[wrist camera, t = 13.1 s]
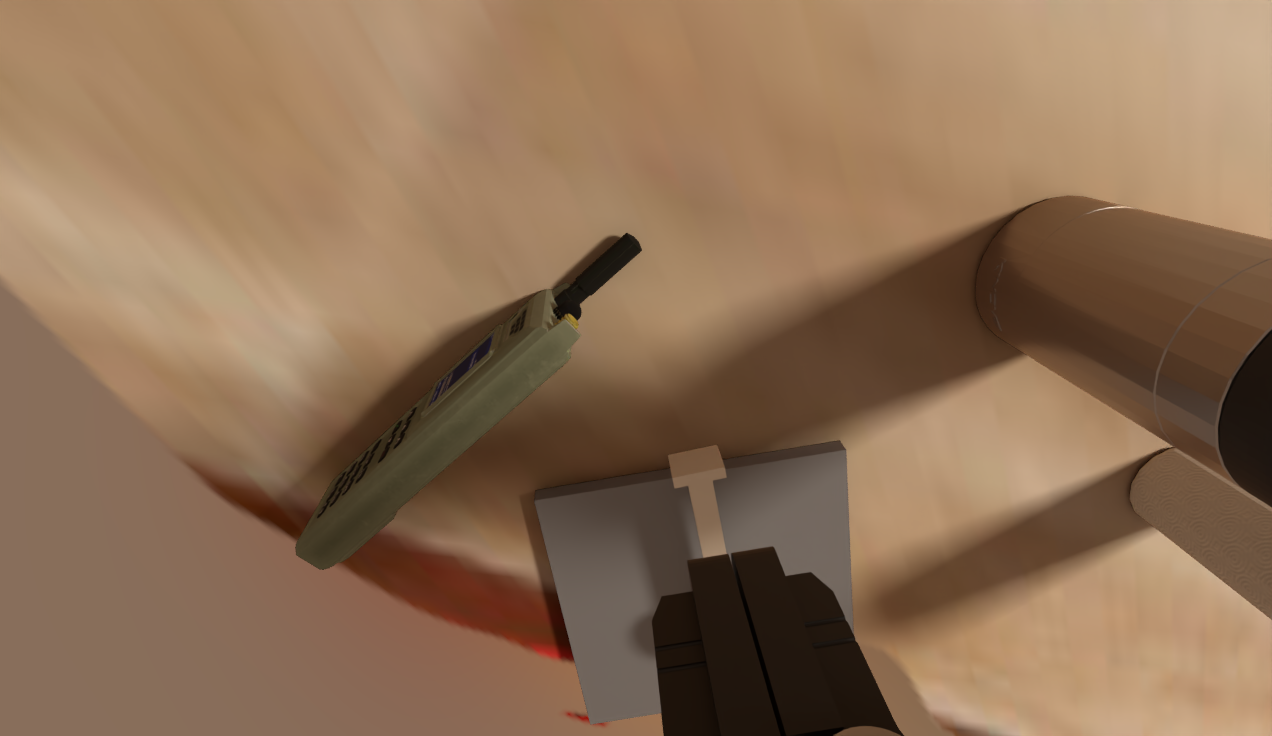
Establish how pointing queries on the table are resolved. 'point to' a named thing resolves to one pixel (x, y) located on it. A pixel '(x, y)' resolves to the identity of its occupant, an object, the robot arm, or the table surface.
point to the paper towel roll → (1209, 522)
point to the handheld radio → (454, 414)
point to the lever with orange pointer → (702, 492)
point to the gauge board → (680, 555)
